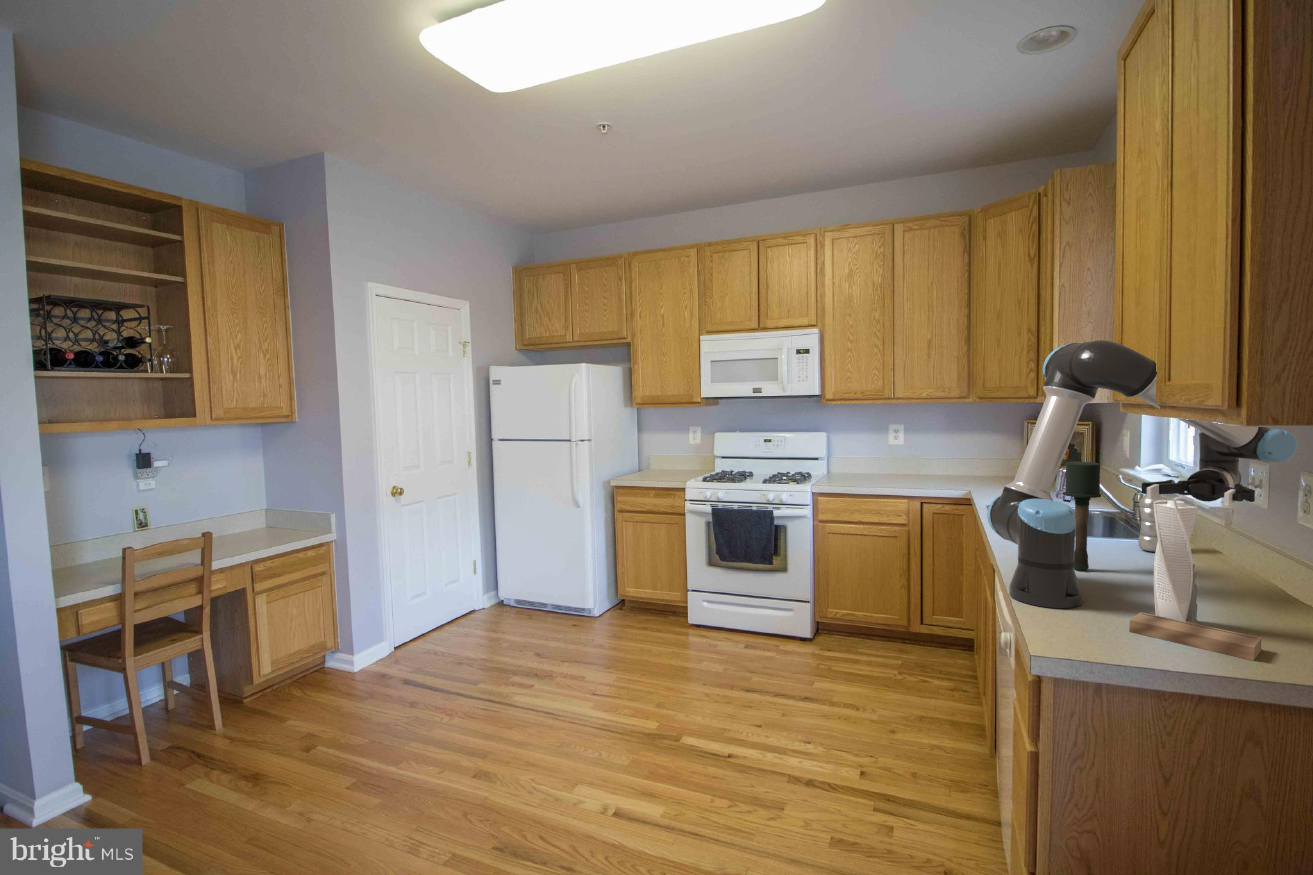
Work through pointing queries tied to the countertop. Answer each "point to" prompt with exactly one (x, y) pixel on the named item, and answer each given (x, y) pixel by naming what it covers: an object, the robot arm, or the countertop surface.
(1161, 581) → the skyscraper
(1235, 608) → the countertop surface
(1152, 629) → the board
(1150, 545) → the ribbed metallic bottle
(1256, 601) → the countertop surface
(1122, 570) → the countertop surface
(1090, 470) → the stick grenade
